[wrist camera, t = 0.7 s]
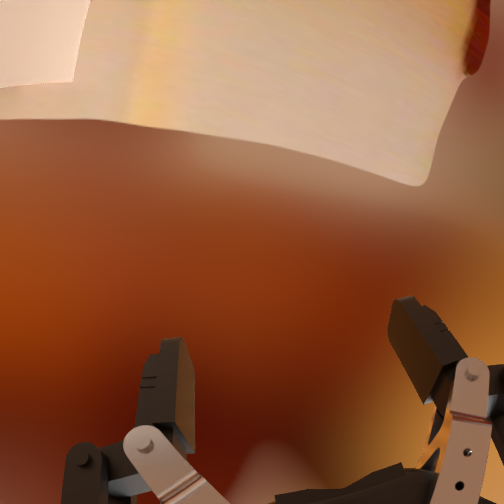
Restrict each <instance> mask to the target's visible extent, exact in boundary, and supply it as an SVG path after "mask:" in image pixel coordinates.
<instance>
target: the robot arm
mask: <svg viewBox="0 0 504 504" xmlns="http://www.w3.org/2000/svg"><path fill="white" fill-rule="evenodd" d="M388 337H389V341H390V343H391V345H392V347H393V348H394V350H395V352H396V354H397V356H398V357H399V359H400V361H401V363H402V365H403V367H404V368H405V370H406V372H407V374H408V376H409V378H410V379H411V381H412V383H413V385H414V387H415V389H416V391H417V393H418V395H419V397H420V399H421V400H422V402H423V404H427V403H429V402H432V401H434V403H435V405H436V406H435V408H434V411H433V416H432V419H431V424H430V428H429V431H428V435H427V439H426V443H425V446H424V449H423V452H422V454H421V456H420V458H419V460H418V462H417V464H416V467H415V468H403V466H402V463H398V464H395V465H392V466H390V467H387V468H384V469H381V470H378V471H375V472H372V473H370V474H369V475H367V476H365V477H364V478H362V479H360V480H358V481H356V482H355V483H353V484H351V485H349V486H347V487H345V488H342V489H307V490H301V491H297V492H291V493H285V494H279V495H275V500H276V501H274V502H271V503H269V504H496V503H494V502H492V501H489V500H487V499H484V498H483V497H481V496H480V492H481V488H482V484H483V479H484V474H485V469H486V463H487V458H488V451H489V445H490V438H492V440H493V442H494V444H495V447H496V449H497V451H498V453H499V456H500V458H501V460H502V463H503V465H504V364H501V365H490V366H486V364H485V363H484V362H482V361H481V360H479V359H477V358H472V357H468V356H467V355H466V353H465V352H464V350H463V349H462V348H461V346H460V345H459V343H458V342H457V340H456V339H455V338H454V336H453V335H452V333H451V332H450V331H448V328H447V327H446V325H445V324H444V323H443V321H442V320H441V319H440V317H439V316H438V315H437V313H436V312H435V311H433V310H431V309H430V308H429V307H427V306H426V305H425V306H421V305H420V304H419V302H418V301H417V300H416V298H415V297H414V296H408V297H404V298H399V299H396V300H394V301H393V304H392V310H391V315H390V319H389V324H388ZM140 388H141V389H140V392H139V398H138V406H137V413H136V422H135V426H134V429H132V430H131V431H130V432H129V433H128V434H127V435H126V437H125V439H124V440H122V441H121V442H118V443H115V444H112V445H108V446H105V447H101V448H98V447H96V446H95V445H94V444H92V443H89V442H82V443H79V444H76V445H75V446H73V447H72V448H71V449H70V450H69V452H68V454H67V457H66V463H65V470H64V479H63V488H62V499H61V504H137V494H141V493H144V492H148V491H151V490H152V491H153V492H154V493H155V494H156V496H157V497H158V498H159V500H160V503H161V504H230V503H229V502H228V501H227V500H226V499H224V497H222V496H221V495H220V494H219V493H218V492H217V491H216V490H215V489H214V488H213V487H212V486H211V485H210V484H209V483H208V482H207V481H206V480H205V479H204V478H203V477H202V476H201V475H200V474H198V473H197V472H196V471H195V470H194V469H193V468H192V467H191V466H190V464H188V462H187V461H186V454H187V453H195V374H194V368H193V364H192V361H191V358H190V356H189V353H188V350H187V348H186V346H185V343H184V340H183V338H182V337H179V338H169V339H162V340H161V345H160V352H159V354H151V355H150V356H149V358H148V359H147V361H146V363H145V364H144V366H143V372H142V380H141V385H140Z"/></svg>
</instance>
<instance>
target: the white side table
mask: <svg viewBox="0 0 504 504" xmlns="http://www.w3.org/2000/svg"><path fill="white" fill-rule="evenodd" d="M90 1H91V0H0V88H4V87H12V86H21V85H31V84H43V83H59V82H73V78H74V72H75V67H76V61H77V56H78V51H79V46H80V41H81V37H82V32H83V28H84V24H85V20H86V16H87V12H88V9H89V5H90Z"/></svg>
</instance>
